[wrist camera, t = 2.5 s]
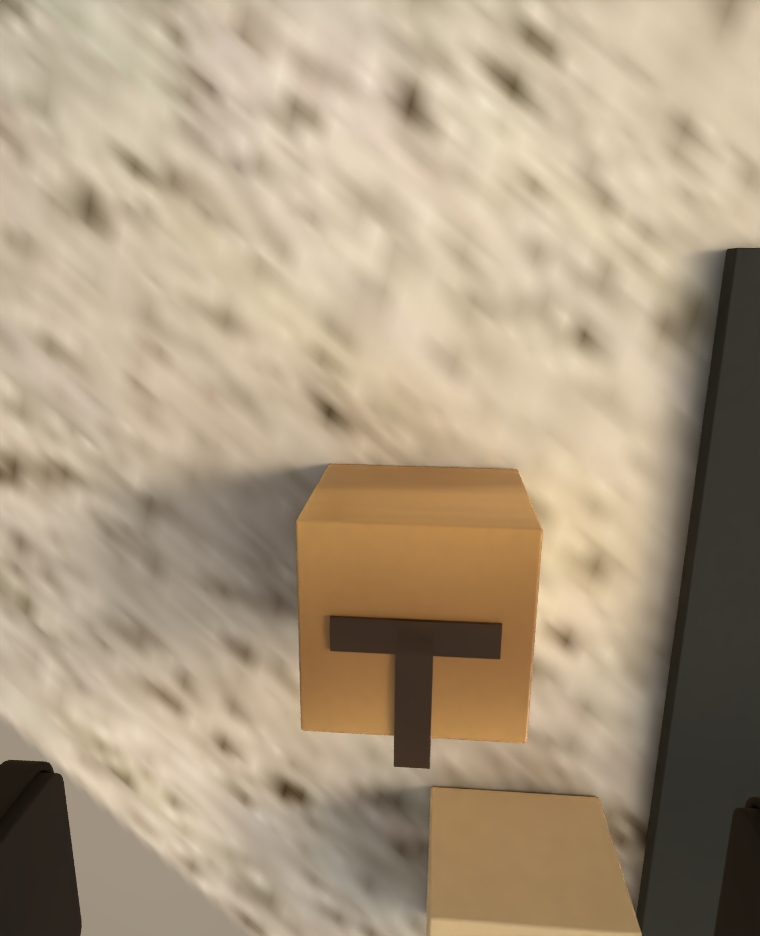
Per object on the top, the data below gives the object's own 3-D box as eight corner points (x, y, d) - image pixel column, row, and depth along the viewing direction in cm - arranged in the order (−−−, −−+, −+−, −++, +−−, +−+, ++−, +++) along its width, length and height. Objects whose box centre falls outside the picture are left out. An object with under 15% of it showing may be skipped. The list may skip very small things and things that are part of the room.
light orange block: (328, 463, 18) (294, 522, 14) (518, 468, 18) (544, 530, 14) (330, 653, 20) (300, 761, 16) (505, 662, 20) (525, 774, 15)
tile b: (430, 785, 21) (429, 922, 16) (599, 796, 21) (644, 938, 16) (426, 916, 22) (423, 1074, 18) (584, 928, 22) (622, 1093, 17)
